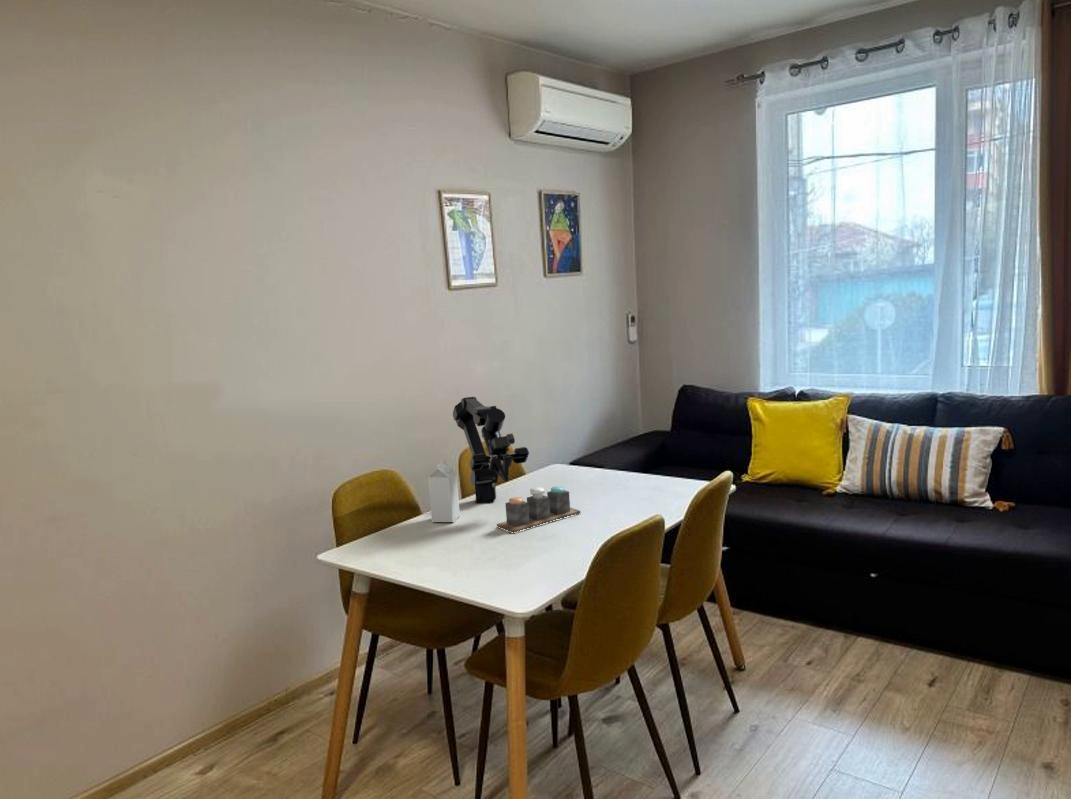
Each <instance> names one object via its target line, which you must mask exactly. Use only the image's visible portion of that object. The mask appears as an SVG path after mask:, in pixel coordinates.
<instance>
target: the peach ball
mask: <svg viewBox="0 0 1071 799" xmlns="http://www.w3.org/2000/svg"><path fill="white" fill-rule="evenodd" d="M508 502H509V504H510V505H520V504H523V503H524V502H525V501H524V498H523V497H522V496H515V497H514V496H513V497H510V498H509V499H508Z"/></svg>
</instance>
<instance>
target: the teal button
mask: <svg viewBox="0 0 1071 799" xmlns="http://www.w3.org/2000/svg"><path fill="white" fill-rule="evenodd" d="M550 491H551V493H553V494H561V493H564V492H565V491H566V489H565V487H564V486H561V485H560V486H559V485H557V486H552V487H550Z"/></svg>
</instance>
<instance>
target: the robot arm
mask: <svg viewBox="0 0 1071 799" xmlns="http://www.w3.org/2000/svg"><path fill="white" fill-rule="evenodd" d="M452 417H453V420H454V421H455V423H456V426H457V427H458V428H460V429H461V430H463V432H464V436H465V439H466V440H467V445H468V446H469V449H470V453H471V458H470V463H469V466H470V470H471V473H470V477H469V479H470V484H471V485H472V486H473V487H474V491H475V501H474V503H475V504H483V503H482V502H491V503H494V502H495V500H496V499H497V489H496V488H497V487H496V485H495V484H497V483H498V480H499V477H500V478H501V479H502V480H503V481H504V482H506V483H507V482H509V471H510V470H509V469H510V467H511V466H512V463H515V464H517V465H518V464H523V463H526V462H527V459H528V457H529V455H530V452H529V448H527V447H526V446H522V447H515V448H514V450H513V452H509V451H510V448H509V447H511V445H513V444H515V442H516V440H515V436H514V434H513V433H507V434H506V435H505V436H503V435H502V434H501V432H500V431H501V430H502V428H503V426H504V422H505V419H506V413H505V412H504V411H503V410H502V409H500V408H497V405H493V406H485V405H484V404H482V403H481V402H480V401H479V400H477V397H476V396H467V397H463V398H461V400H460V401H459V403H457V404H456V405H454V407H453V410H452ZM477 427H481V430H480V431H481V432H480V433H481V436H480V433H479V430H478V428H477ZM482 439H483V441H484V444H485V448H484V444H483V442H482ZM485 450H486V451H485ZM486 452H487V453H488V454H487V453H486ZM508 452H509V453H508Z"/></svg>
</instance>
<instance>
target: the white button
mask: <svg viewBox="0 0 1071 799" xmlns="http://www.w3.org/2000/svg"><path fill="white" fill-rule="evenodd" d="M529 491H530V495H531V496H533V498H534V499H540V498H543V495H544V494H545V488H544V487H537V486H536V487H532V488H530V489H529Z"/></svg>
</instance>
